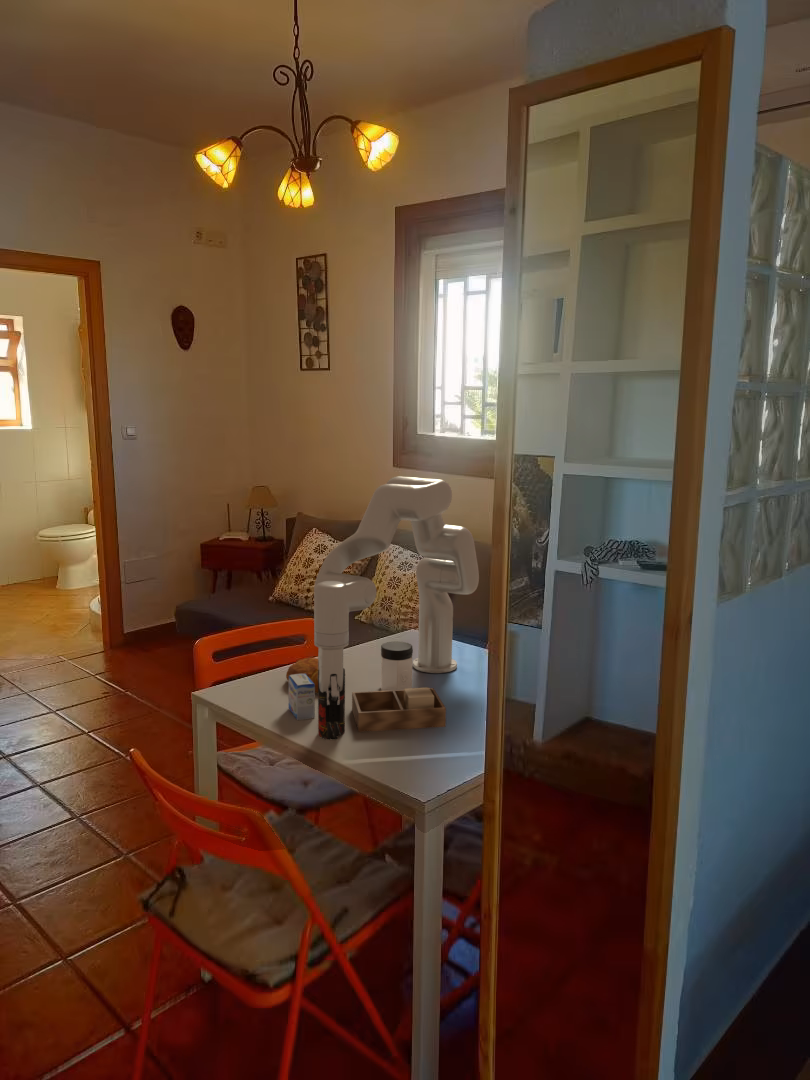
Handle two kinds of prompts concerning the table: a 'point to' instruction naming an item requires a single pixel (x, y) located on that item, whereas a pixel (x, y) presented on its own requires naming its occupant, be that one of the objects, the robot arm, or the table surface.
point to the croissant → (305, 670)
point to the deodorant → (324, 728)
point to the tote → (394, 712)
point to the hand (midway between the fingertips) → (331, 714)
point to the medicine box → (301, 696)
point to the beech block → (418, 698)
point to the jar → (396, 666)
